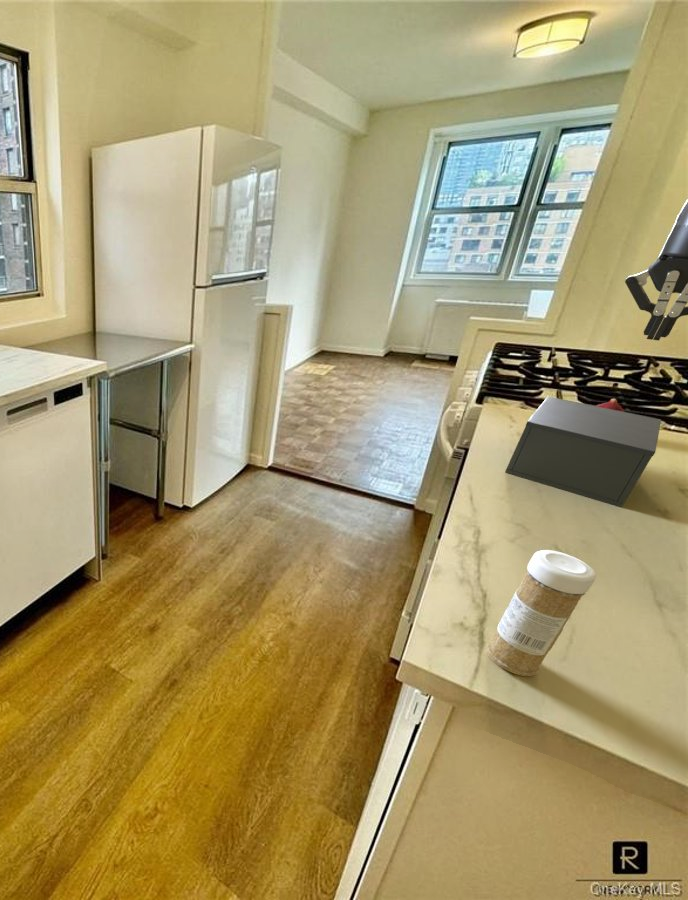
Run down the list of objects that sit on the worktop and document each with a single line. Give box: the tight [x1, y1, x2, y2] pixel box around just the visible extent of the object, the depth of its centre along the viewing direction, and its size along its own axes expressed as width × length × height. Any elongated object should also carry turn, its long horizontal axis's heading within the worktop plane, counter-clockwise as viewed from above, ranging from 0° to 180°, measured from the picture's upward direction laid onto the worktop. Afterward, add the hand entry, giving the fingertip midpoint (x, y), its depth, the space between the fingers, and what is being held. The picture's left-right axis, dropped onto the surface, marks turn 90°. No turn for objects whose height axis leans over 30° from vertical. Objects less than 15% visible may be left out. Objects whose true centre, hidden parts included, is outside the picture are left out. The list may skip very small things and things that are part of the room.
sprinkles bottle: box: [485, 549, 597, 677], centre depth 49 cm, size 5×5×14 cm
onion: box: [596, 398, 625, 412], centre depth 104 cm, size 6×6×8 cm
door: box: [525, 395, 662, 457], centre depth 85 cm, size 20×16×1 cm
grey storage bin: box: [504, 425, 653, 508], centre depth 88 cm, size 19×16×10 cm
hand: (652, 338), depth 79 cm, fingers closed
